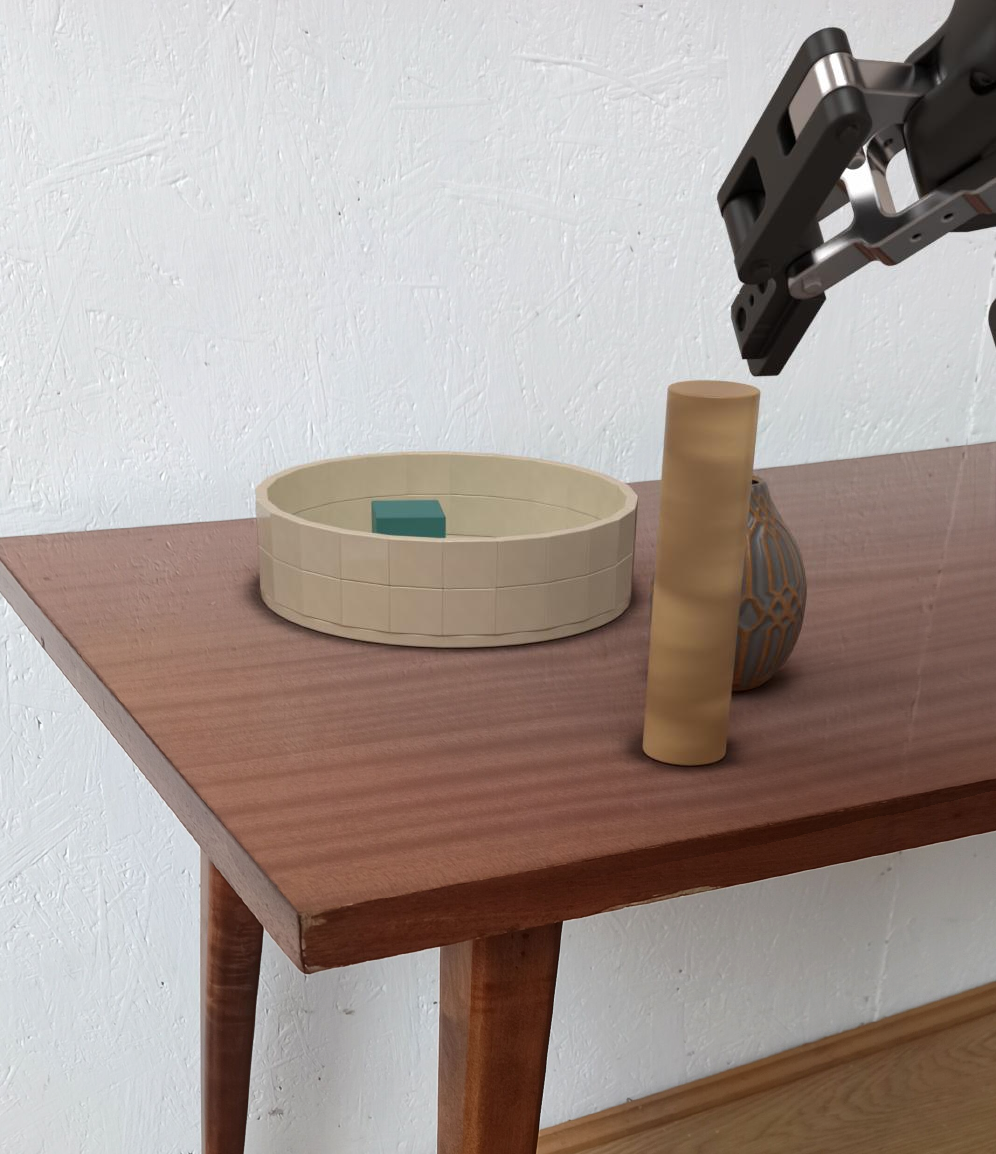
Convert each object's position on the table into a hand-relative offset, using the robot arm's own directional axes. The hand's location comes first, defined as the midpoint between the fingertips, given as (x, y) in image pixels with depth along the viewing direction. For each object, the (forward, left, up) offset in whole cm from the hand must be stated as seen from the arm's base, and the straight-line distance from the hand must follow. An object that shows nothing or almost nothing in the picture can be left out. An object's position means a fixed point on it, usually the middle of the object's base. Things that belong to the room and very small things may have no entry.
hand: (881, 346), depth 52 cm
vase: (+4, -20, -17) cm, 27 cm away
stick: (+5, -10, -17) cm, 21 cm away
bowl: (+18, -31, -17) cm, 40 cm away
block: (+20, -31, -17) cm, 41 cm away
